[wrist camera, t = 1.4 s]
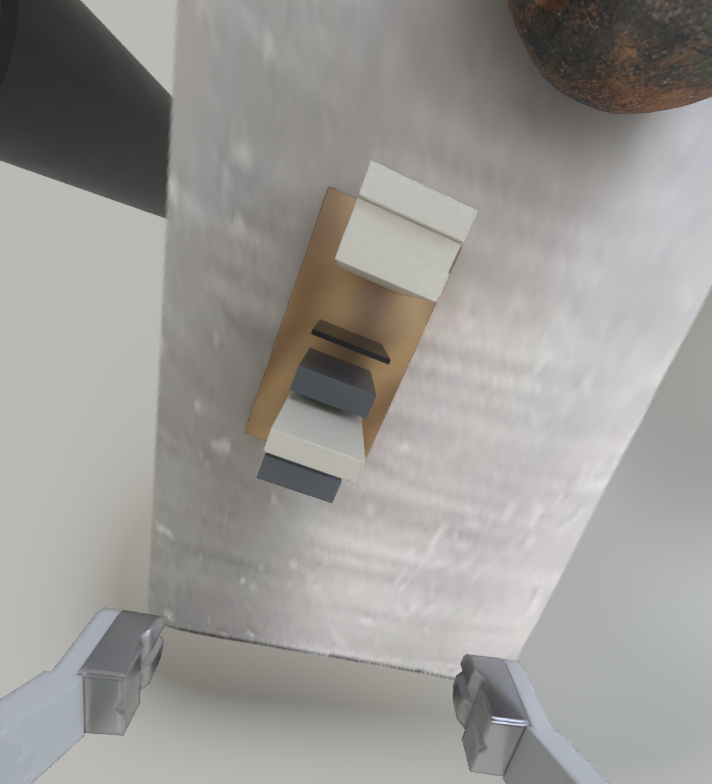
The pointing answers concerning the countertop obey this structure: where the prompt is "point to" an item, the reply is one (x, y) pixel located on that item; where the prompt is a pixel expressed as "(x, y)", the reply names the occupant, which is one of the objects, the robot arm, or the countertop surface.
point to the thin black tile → (351, 341)
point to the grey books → (329, 386)
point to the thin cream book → (318, 437)
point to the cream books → (403, 234)
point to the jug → (621, 50)
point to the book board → (340, 324)
